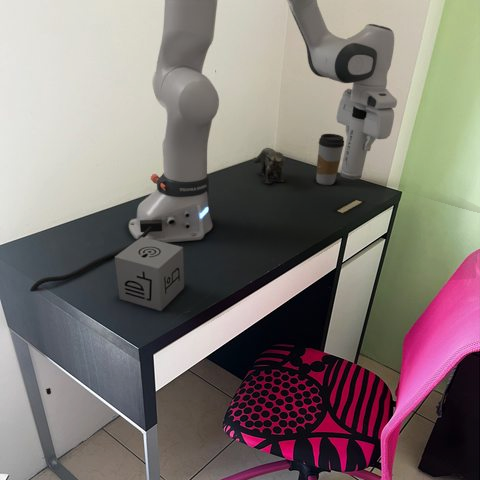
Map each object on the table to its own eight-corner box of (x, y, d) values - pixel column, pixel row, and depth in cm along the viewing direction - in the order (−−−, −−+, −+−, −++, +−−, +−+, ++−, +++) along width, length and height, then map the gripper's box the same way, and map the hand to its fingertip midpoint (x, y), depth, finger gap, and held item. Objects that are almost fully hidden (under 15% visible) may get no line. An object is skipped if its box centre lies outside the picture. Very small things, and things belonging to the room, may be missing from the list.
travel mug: (359, 173, 146) (375, 102, 134) (362, 180, 140) (378, 108, 129) (339, 171, 146) (352, 100, 134) (340, 178, 141) (355, 105, 129)
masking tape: (342, 213, 144) (342, 212, 144) (337, 211, 145) (337, 210, 145) (362, 202, 152) (362, 201, 151) (356, 200, 153) (356, 200, 152)
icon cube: (161, 311, 98) (158, 268, 93) (119, 298, 101) (114, 256, 95) (184, 287, 106) (183, 247, 100) (145, 277, 109) (141, 236, 103)
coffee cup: (309, 178, 167) (315, 133, 158) (330, 176, 169) (338, 132, 160) (319, 187, 161) (326, 141, 152) (341, 185, 163) (349, 140, 154)
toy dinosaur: (251, 168, 173) (253, 135, 166) (273, 167, 174) (276, 135, 168) (264, 190, 155) (267, 155, 149) (289, 190, 157) (293, 155, 150)
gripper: (335, 87, 136) (328, 137, 144) (382, 103, 122) (371, 158, 130) (353, 86, 139) (345, 136, 147) (401, 102, 124) (389, 156, 132)
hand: (357, 146), depth 138 cm, fingers closed on travel mug, 6 cm apart
